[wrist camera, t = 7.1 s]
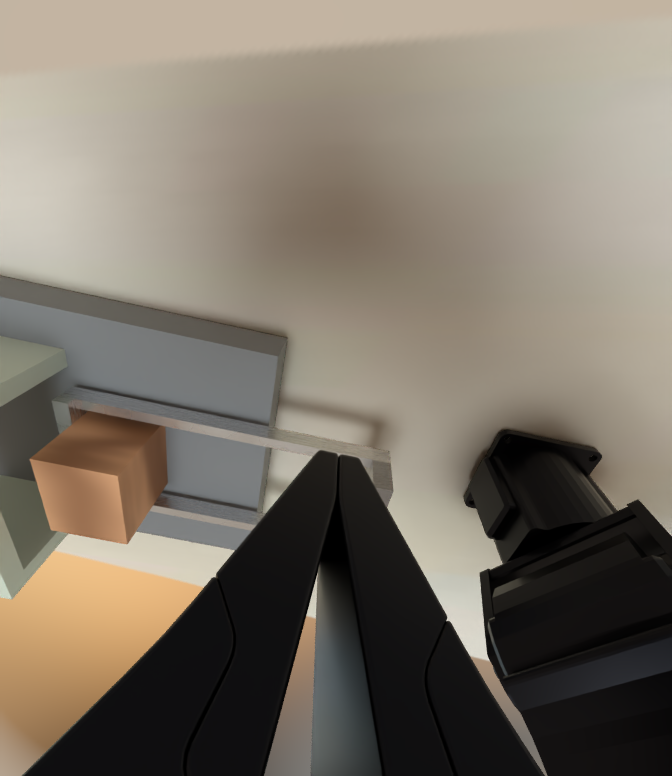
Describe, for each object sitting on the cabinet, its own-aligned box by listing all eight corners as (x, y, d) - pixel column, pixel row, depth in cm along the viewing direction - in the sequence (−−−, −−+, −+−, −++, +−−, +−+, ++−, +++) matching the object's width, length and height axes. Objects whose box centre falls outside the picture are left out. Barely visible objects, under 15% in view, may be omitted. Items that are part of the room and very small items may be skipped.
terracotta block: (165, 420, 20) (117, 476, 16) (167, 483, 23) (127, 544, 19) (94, 406, 20) (29, 458, 16) (105, 470, 23) (50, 530, 19)
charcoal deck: (287, 338, 20) (278, 356, 18) (259, 524, 28) (251, 553, 26) (-194, 233, 19) (-267, 239, 17) (-81, 458, 27) (-120, 482, 25)
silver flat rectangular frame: (389, 451, 20) (393, 491, 17) (357, 537, 24) (357, 581, 21) (72, 386, 19) (26, 417, 17) (92, 486, 23) (57, 524, 20)
